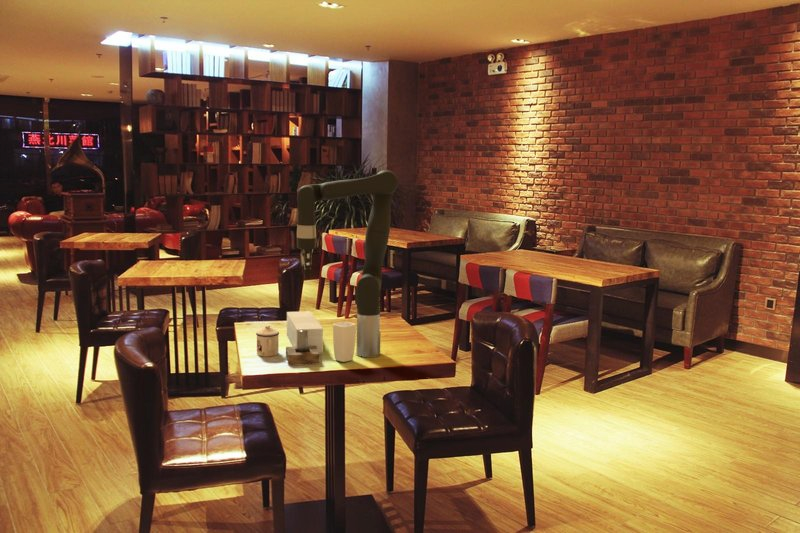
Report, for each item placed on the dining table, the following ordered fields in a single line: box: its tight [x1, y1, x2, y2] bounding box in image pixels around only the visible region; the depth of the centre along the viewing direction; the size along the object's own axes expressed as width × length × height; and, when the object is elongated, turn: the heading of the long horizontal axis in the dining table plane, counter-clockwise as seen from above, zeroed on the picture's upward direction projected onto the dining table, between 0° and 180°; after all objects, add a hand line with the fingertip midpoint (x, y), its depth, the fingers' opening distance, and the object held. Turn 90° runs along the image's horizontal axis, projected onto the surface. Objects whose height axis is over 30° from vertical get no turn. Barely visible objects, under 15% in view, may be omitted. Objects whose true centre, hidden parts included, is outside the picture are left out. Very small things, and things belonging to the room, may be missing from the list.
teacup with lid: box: [255, 324, 280, 357], centre depth 281 cm, size 12×9×12 cm
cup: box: [332, 321, 357, 363], centre depth 276 cm, size 7×7×15 cm
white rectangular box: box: [286, 310, 324, 355], centre depth 299 cm, size 32×11×11 cm, turn 16°
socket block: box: [285, 346, 321, 366], centre depth 276 cm, size 12×12×4 cm
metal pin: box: [297, 329, 308, 353], centre depth 275 cm, size 4×4×12 cm
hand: (306, 276), depth 278 cm, fingers open, 8 cm apart
